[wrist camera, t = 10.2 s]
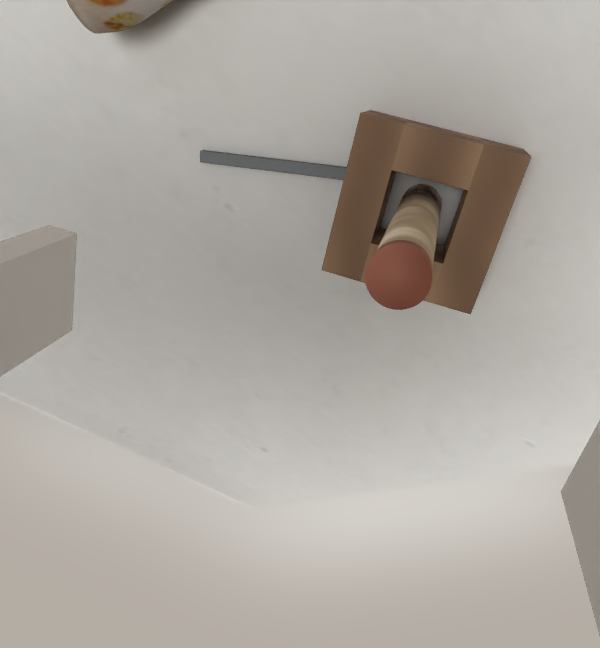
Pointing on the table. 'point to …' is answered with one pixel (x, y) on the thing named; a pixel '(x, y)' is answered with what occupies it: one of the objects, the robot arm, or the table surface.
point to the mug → (114, 13)
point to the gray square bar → (273, 164)
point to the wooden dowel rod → (406, 251)
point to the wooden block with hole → (436, 165)
